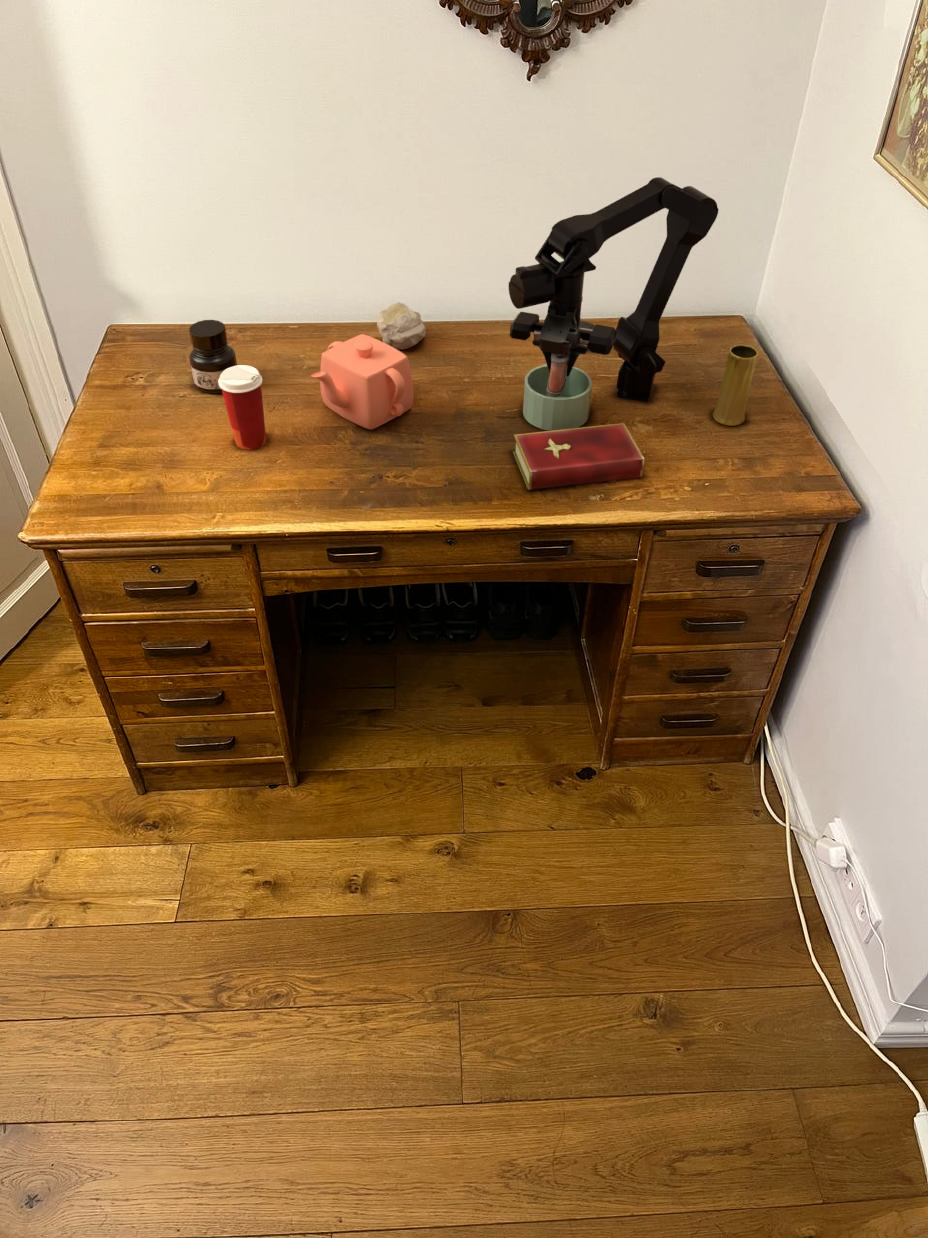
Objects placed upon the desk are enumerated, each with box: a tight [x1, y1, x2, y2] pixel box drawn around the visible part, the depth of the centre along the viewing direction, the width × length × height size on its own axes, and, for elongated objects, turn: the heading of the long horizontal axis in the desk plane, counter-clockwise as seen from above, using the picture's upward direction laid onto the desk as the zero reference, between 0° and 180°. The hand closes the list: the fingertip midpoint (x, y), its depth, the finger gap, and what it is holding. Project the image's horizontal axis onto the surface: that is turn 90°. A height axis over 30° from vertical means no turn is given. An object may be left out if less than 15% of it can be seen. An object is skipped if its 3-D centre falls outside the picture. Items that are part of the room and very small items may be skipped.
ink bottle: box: [188, 319, 238, 394], centre depth 193 cm, size 10×9×12 cm
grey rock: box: [376, 301, 427, 350], centre depth 207 cm, size 12×8×10 cm
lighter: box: [547, 349, 570, 397], centre depth 183 cm, size 8×3×10 cm, turn 168°
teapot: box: [310, 333, 415, 430], centre depth 185 cm, size 20×19×14 cm
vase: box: [712, 344, 759, 427], centre depth 185 cm, size 6×6×14 cm
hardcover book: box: [512, 422, 646, 491], centre depth 177 cm, size 12×21×4 cm, turn 102°
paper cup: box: [218, 364, 267, 451], centre depth 178 cm, size 8×8×14 cm
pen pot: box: [522, 364, 593, 431], centre depth 189 cm, size 13×13×7 cm
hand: (559, 373), depth 185 cm, fingers closed on lighter, 3 cm apart
